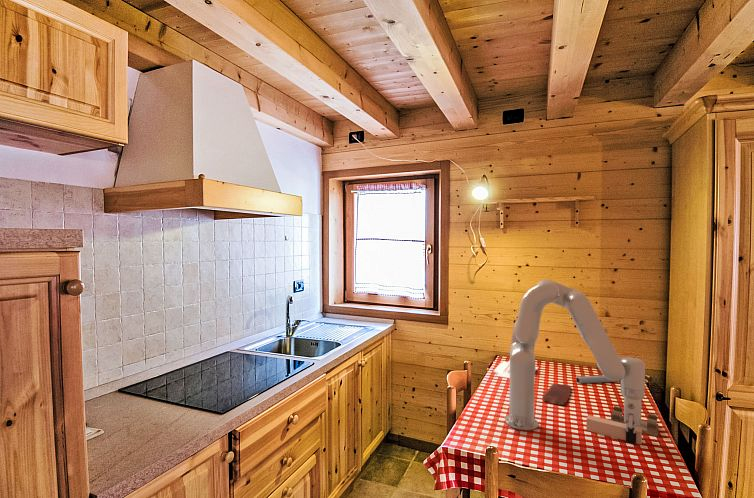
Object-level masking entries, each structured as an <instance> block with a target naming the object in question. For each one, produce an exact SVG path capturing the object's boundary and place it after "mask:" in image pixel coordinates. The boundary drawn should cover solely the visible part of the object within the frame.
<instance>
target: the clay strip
mask: <svg viewBox="0 0 754 498" xmlns="http://www.w3.org/2000/svg"><path fill="white" fill-rule="evenodd" d="M585 428H586V430H585V431H587V430H588V431H589V432H592V433H595V434H600V435H604V436H607V437H611V438H615V439H618V440H621V441H625V442H627V441H626V430H627V424H624V423H620V422H615V421H611V419H607V418H603V417H602V418H601V417H597V416H593V415H590V414H588V415H587V417H586V427H585ZM633 428H634V426H633ZM635 433H636V444H637V445H642V441H643V440H642V439H643V435H642V434H643V433H642V428H640V427H636V430H635Z"/></svg>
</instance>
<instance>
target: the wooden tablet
mask: <svg viewBox="0 0 754 498" xmlns="http://www.w3.org/2000/svg"><path fill="white" fill-rule="evenodd" d="M571 390H572V386H570V385H567V384H566V385H565V384H559V383H553V384H551V385H550V386H549V388H548V389H547V390H546V391H545V393H544V395H543V396H542V401H543V402H546V403H550V404H554V405H556V406H557V405H558V406H564V405H566V403H567V402H568V400H569V397H570V394H571Z"/></svg>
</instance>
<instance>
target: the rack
mask: <svg viewBox="0 0 754 498" xmlns="http://www.w3.org/2000/svg"><path fill="white" fill-rule="evenodd" d="M610 420H611V421H615V422H620V423H624V424H627V423H625V420H624V415H623V407H622V406H617V405H614V406H613V412H611V417H610ZM636 427H640V428H642V434H647V435H650V436H654V437H657V436H658V437H659V423H658V415H657V414H655V413H654V414H653V413H647V420H643V419H641V424H640V426H636Z"/></svg>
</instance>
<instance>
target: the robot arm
mask: <svg viewBox="0 0 754 498" xmlns="http://www.w3.org/2000/svg"><path fill="white" fill-rule="evenodd" d="M552 303H553V304H555V305H557V306H560V307H563V308H565V309H567V311H568V313H569V315H570V317H571V318H572V320H573V322H574V325H575V326H576V328H577V330H578V332H579V335H580V336H581V339H582V340H583V341H584V343H585V344H586V345H587V347H588V348H589V350H590V353H592V355H593V358H594V359H595V361H596V366H597V368H598V369H599V371H600V372H601V374H602V376H605V377H606V378H607V379H608V380H610V381H614V382H613V383H617V382H616V381H618V382H620V394H621V395H622V396H623V414H624V415H623V416H624V420H625V423H627V430H626V441H625V442H627V443H631V444H634V445H635V444H636V433H635V430H636V426H640V424H641V420H642V400H644V399H645V387H646V386H645V384H646V383H645V382H646V378H645V377H646V363H645V362H644V361H643V360H642V359H640V358H637V357H632V356H630V357H629V356H627V357H626V356H625V357H622V356H619V355H618V352H617V351H616V349H615V347H614V345H613V343H612V342H611V339H610V338H609V335H608V333H607V332H606V329H605V328H604V326H603V324H602V322H601V320H600V318H599V317H598V315H597V312H596V311H595V309H594V307H593V305H592V303H591V301H590V300H589V298H588V297H587V295H586V294H584V293H583V292H581V291H579V290H576V289H573V288H571V287H568V286H566V285H564V284H561V283H559V282H556V281H553V280H550V279H542V280H539V281H538V282H537V284H536V285H535V286H533V287H532V288H530V289H529V290H527V291H526V293H524V295H523V297H522V299H521V301H520V306H519V310H518V314H517V319H516V321H515V322H514V325H513V331H512V336H511V343H510V350H509V361H510V378H509V409H508V410H509V411H508V412H509V414H508V415H507V416H505V419H504V420H505V424H506V425H508V426H510V427H512V428H513V429H516V430H520V431H533V430H536V429H538V427H539V422H538V420H537V419H536V418H535V383H536V382H535V381H536V380H535V376H536V371H535V367H536V356H535V346H536V341H537V340H538V338H539V334H540V326H541V325H540V324H541V318H542V314H543V310H544V308H545V307H546V306H547V305H549V304H552ZM633 426H634V428H633Z"/></svg>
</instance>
